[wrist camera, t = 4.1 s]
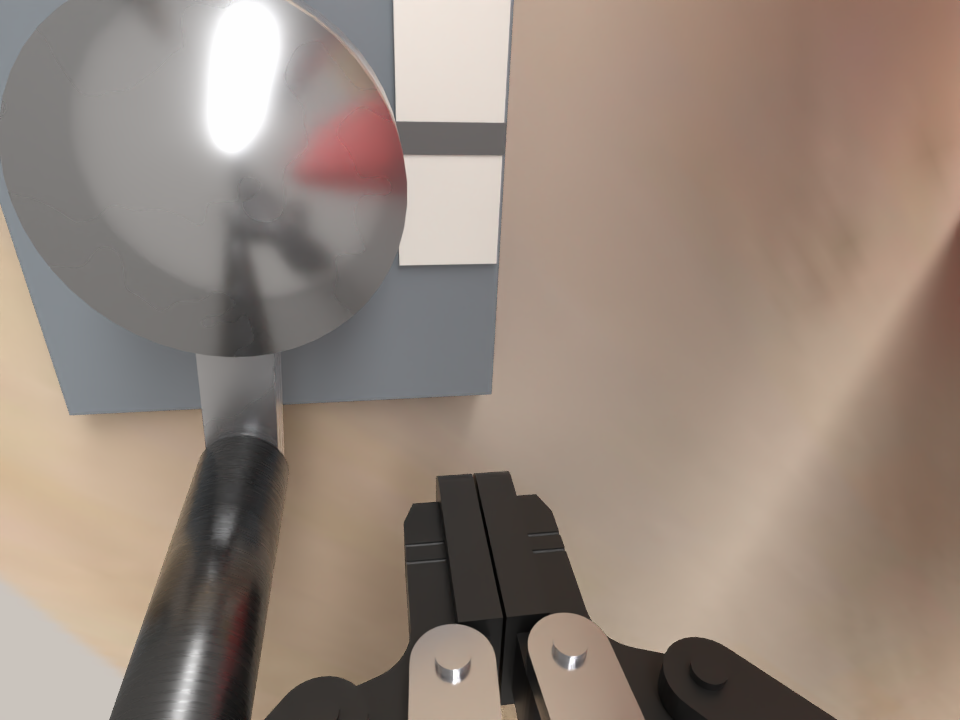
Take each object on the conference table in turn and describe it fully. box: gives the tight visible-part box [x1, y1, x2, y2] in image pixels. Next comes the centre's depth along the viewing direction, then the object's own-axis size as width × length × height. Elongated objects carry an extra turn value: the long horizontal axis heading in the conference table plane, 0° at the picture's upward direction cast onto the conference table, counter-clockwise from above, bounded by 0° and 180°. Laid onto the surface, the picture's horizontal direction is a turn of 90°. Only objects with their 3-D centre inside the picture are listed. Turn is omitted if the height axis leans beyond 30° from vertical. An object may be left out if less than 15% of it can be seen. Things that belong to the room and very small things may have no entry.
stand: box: [0, 0, 514, 415], centre depth 14 cm, size 11×14×4 cm
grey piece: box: [0, 0, 407, 720], centre depth 9 cm, size 6×13×8 cm, turn 173°
